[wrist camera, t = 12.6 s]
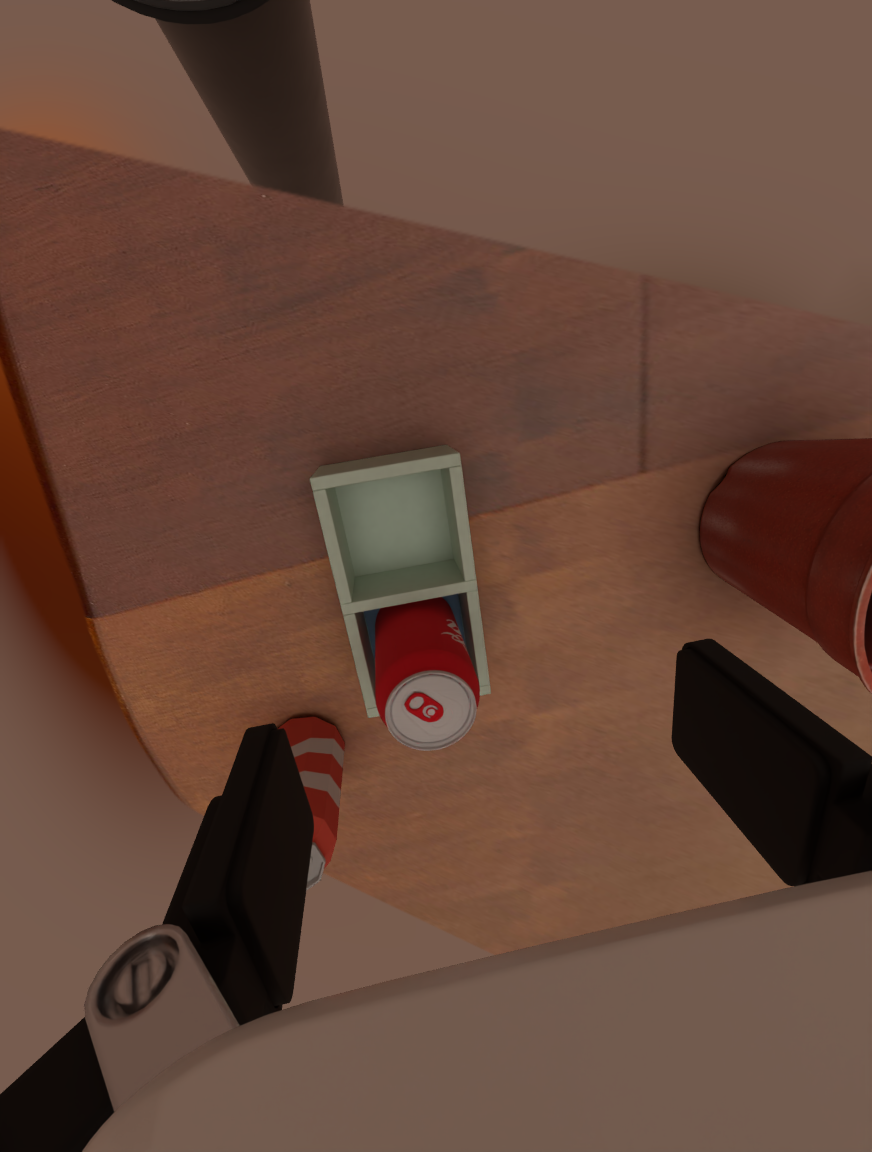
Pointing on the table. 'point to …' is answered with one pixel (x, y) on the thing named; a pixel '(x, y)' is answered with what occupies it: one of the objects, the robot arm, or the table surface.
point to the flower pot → (801, 540)
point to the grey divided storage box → (399, 547)
